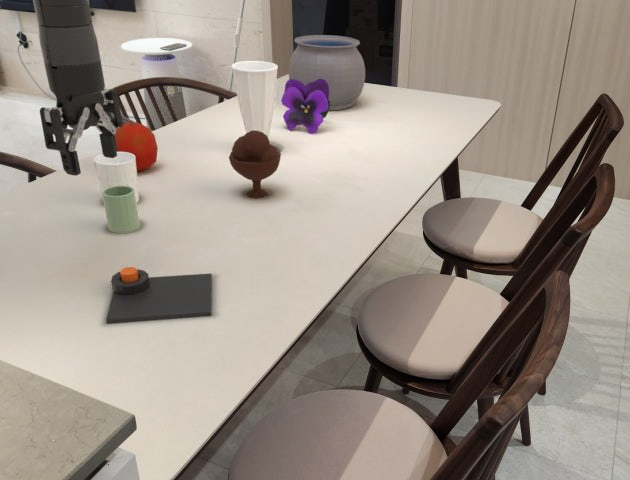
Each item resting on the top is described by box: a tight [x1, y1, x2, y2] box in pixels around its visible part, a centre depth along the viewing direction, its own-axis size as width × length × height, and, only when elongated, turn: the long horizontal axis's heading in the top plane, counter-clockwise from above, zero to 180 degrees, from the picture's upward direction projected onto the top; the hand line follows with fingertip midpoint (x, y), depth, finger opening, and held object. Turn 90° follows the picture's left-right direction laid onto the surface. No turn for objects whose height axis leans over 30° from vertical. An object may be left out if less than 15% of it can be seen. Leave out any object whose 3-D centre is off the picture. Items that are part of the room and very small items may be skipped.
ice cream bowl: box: [228, 130, 282, 199], centre depth 135 cm, size 11×11×15 cm
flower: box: [280, 79, 330, 135], centre depth 185 cm, size 15×15×14 cm
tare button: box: [119, 266, 139, 283], centre depth 101 cm, size 3×3×2 cm
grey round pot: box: [288, 34, 366, 111], centre depth 205 cm, size 25×25×20 cm
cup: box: [230, 60, 281, 153], centre depth 160 cm, size 12×12×22 cm
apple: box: [115, 121, 158, 172], centre depth 148 cm, size 10×10×12 cm
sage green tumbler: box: [101, 186, 141, 234], centre depth 120 cm, size 6×6×8 cm
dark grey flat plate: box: [105, 268, 213, 325], centre depth 100 cm, size 15×12×3 cm
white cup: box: [93, 152, 140, 204], centre depth 130 cm, size 8×8×10 cm
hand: (92, 165), depth 99 cm, fingers open, 8 cm apart
